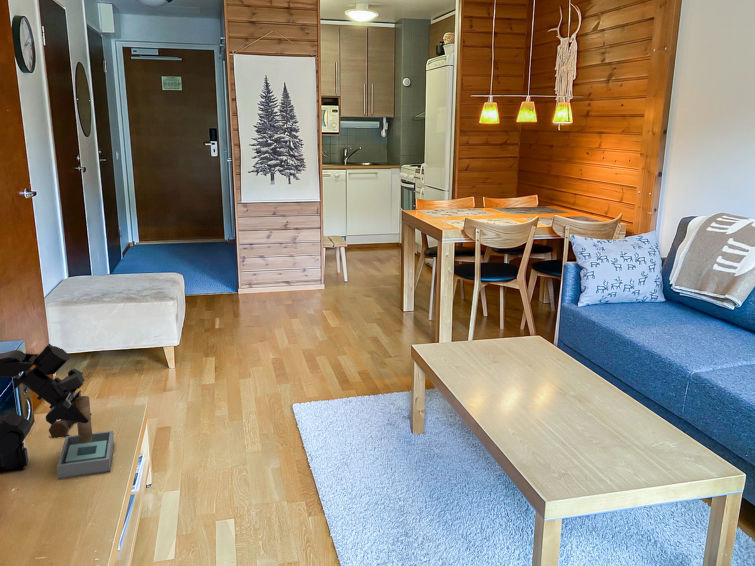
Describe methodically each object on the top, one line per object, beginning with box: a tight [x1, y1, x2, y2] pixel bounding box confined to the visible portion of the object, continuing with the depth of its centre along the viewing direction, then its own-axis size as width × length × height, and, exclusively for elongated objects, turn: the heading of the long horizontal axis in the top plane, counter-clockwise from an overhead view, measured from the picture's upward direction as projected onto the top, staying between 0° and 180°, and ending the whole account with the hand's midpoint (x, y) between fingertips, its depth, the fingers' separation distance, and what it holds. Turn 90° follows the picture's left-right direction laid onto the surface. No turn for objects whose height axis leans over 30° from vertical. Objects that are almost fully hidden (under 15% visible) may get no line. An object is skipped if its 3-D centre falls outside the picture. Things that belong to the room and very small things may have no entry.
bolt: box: [48, 419, 76, 439], centre depth 198 cm, size 6×5×15 cm
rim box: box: [56, 430, 115, 480], centre depth 178 cm, size 13×18×4 cm
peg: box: [75, 395, 93, 444], centre depth 176 cm, size 4×4×13 cm
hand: (89, 419), depth 176 cm, fingers closed on peg, 4 cm apart
